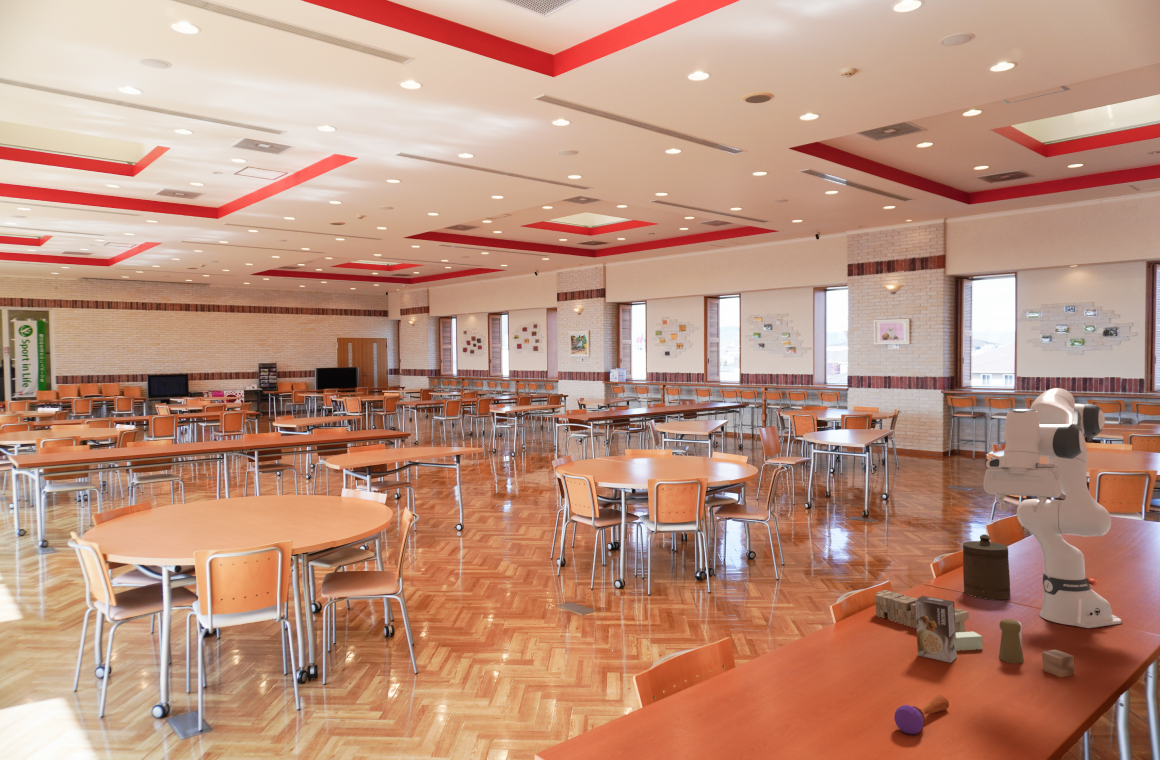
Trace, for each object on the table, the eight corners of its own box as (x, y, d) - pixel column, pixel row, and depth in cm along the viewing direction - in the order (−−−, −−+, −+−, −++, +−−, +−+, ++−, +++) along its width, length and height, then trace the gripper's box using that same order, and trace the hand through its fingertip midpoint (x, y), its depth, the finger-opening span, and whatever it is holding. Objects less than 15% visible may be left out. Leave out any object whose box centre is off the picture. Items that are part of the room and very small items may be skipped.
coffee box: (957, 656, 198) (956, 601, 198) (950, 663, 193) (948, 606, 193) (924, 649, 204) (922, 594, 204) (916, 655, 200) (914, 600, 200)
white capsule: (1014, 642, 207) (1013, 619, 207) (1026, 648, 202) (1025, 624, 202) (998, 643, 207) (997, 620, 207) (1010, 649, 202) (1009, 625, 202)
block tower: (872, 618, 235) (955, 641, 210) (870, 593, 235) (953, 613, 210) (887, 614, 239) (970, 636, 214) (885, 589, 239) (968, 609, 214)
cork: (1027, 663, 192) (1026, 624, 192) (1003, 662, 193) (1002, 623, 193) (1018, 655, 198) (1017, 617, 198) (995, 654, 199) (994, 616, 199)
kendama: (956, 697, 164) (918, 717, 152) (952, 720, 165) (913, 742, 152) (931, 684, 169) (892, 703, 156) (927, 707, 170) (887, 728, 157)
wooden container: (992, 587, 262) (990, 530, 263) (1019, 599, 248) (1017, 538, 248) (955, 589, 262) (953, 531, 262) (980, 601, 247) (978, 540, 247)
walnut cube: (1055, 667, 189) (1055, 649, 189) (1074, 674, 184) (1073, 655, 184) (1042, 670, 187) (1042, 652, 187) (1061, 677, 182) (1060, 658, 183)
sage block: (973, 644, 207) (973, 631, 207) (982, 649, 203) (982, 636, 203) (948, 646, 206) (948, 632, 206) (957, 651, 202) (956, 637, 202)
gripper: (1066, 465, 191) (1065, 515, 189) (994, 464, 209) (993, 509, 207) (1052, 462, 188) (1052, 513, 186) (981, 461, 206) (979, 507, 204)
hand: (1020, 511), depth 196 cm, fingers open, 8 cm apart
